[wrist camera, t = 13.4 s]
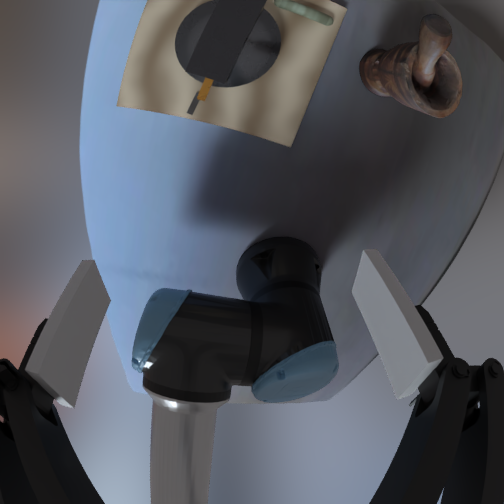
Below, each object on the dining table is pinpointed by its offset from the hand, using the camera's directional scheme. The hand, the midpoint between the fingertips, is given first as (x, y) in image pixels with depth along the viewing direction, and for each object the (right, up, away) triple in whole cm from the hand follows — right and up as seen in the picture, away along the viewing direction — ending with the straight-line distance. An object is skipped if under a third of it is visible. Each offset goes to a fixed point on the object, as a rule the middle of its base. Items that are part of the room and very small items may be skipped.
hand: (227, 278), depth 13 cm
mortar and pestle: (+18, +27, +15) cm, 36 cm away
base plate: (-2, +27, +14) cm, 31 cm away
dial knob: (-2, +25, +13) cm, 28 cm away
